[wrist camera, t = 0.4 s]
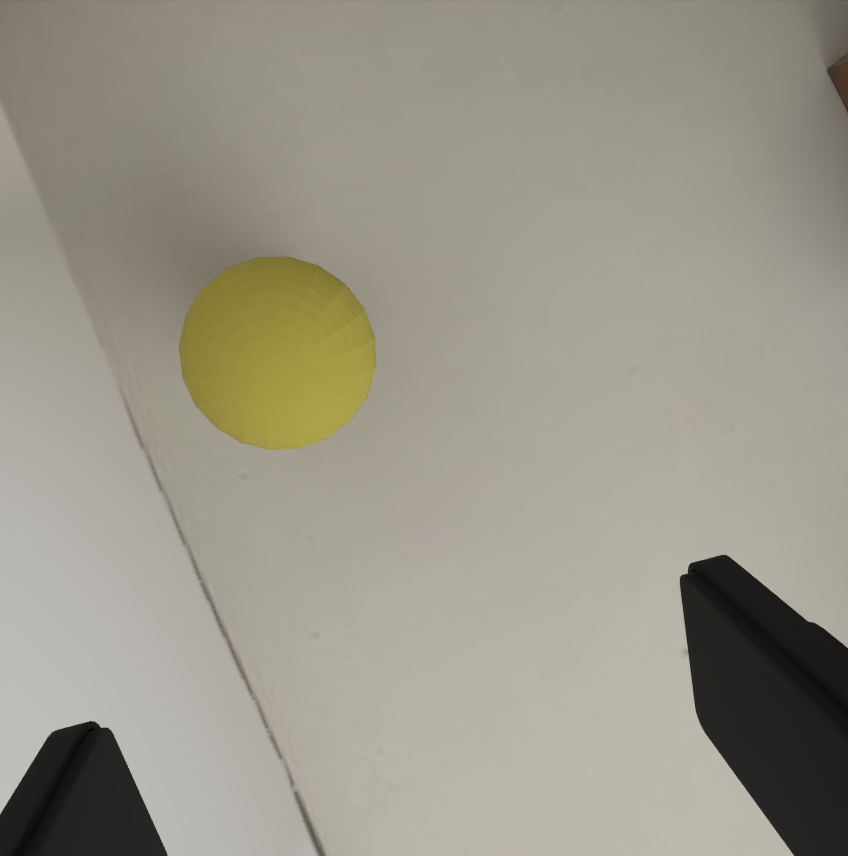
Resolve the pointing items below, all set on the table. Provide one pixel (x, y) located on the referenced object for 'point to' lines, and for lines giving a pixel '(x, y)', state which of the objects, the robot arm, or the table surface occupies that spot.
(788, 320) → the table surface
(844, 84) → the wooden frame
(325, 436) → the light bulb
